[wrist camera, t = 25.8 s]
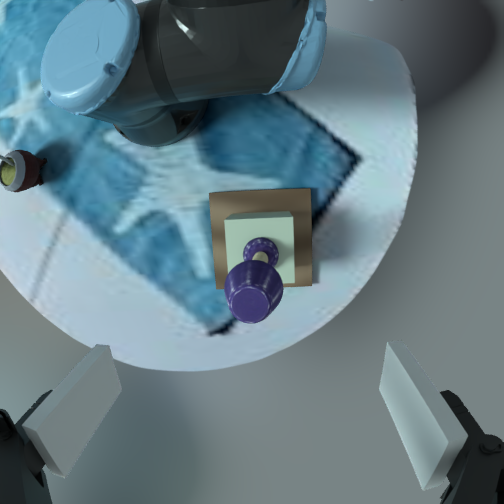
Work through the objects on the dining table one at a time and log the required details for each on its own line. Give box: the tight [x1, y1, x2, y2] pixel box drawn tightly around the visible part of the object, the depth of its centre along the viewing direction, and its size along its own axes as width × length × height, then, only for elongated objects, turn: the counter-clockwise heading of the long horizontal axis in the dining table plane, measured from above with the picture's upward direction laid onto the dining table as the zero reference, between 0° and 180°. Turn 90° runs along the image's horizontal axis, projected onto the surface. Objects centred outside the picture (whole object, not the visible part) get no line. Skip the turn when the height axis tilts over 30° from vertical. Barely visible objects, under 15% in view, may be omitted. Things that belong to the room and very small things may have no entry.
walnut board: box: [209, 188, 312, 289], centre depth 45 cm, size 14×14×1 cm
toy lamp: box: [224, 237, 283, 324], centre depth 29 cm, size 5×5×17 cm
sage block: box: [224, 211, 295, 283], centre depth 41 cm, size 8×8×7 cm
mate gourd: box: [0, 150, 47, 192], centre depth 37 cm, size 8×8×15 cm
